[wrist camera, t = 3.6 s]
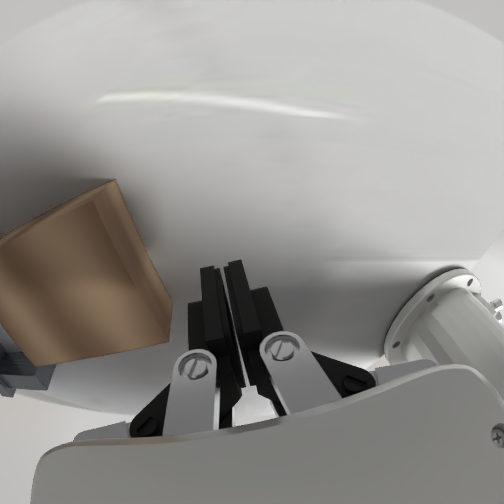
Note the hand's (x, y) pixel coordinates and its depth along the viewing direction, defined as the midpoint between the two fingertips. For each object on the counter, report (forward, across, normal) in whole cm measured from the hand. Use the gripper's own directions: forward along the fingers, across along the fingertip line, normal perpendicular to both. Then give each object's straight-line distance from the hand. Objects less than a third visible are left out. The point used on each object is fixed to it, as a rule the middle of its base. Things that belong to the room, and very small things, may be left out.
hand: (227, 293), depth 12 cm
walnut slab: (+7, +10, +1) cm, 12 cm away
